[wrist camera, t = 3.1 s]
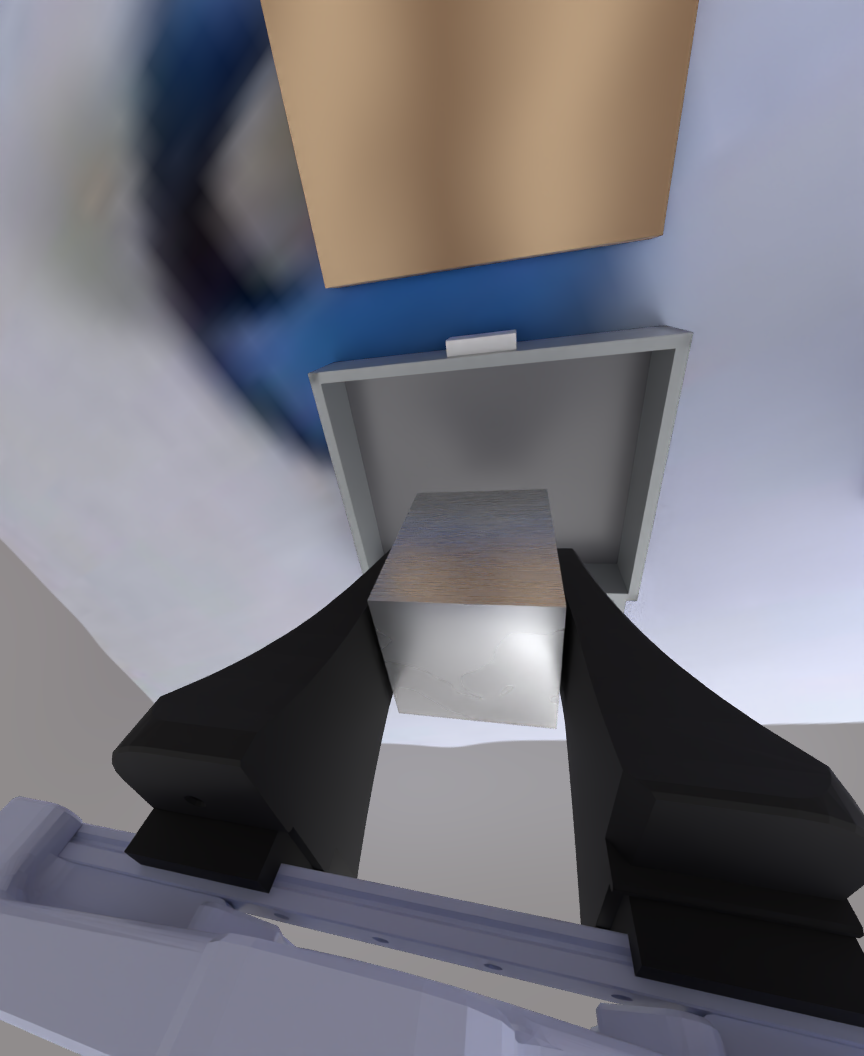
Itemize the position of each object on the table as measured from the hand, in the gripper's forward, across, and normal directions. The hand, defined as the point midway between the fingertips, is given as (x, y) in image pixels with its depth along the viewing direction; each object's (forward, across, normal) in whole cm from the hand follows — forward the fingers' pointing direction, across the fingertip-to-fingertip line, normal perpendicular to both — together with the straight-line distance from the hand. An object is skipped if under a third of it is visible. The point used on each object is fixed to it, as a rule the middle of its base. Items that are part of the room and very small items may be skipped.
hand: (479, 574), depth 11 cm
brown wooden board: (+8, 0, -12) cm, 15 cm away
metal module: (+2, 0, 0) cm, 2 cm away
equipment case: (+8, 0, +4) cm, 8 cm away
